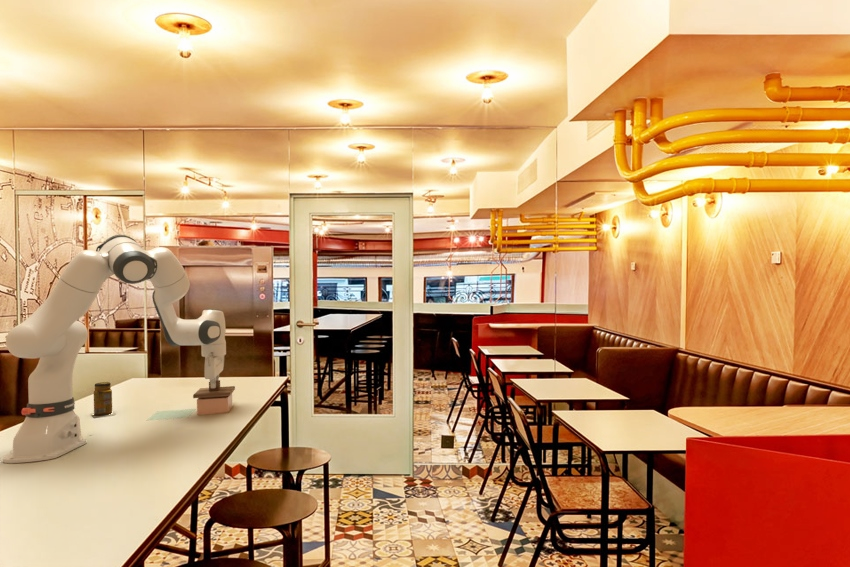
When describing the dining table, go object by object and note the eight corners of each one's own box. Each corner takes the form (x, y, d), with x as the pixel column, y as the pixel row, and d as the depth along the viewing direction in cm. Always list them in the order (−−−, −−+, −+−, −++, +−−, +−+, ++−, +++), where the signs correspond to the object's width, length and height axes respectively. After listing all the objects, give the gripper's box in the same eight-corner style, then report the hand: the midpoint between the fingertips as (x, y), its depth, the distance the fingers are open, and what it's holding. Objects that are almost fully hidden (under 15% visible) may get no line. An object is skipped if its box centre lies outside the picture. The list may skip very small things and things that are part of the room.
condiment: (112, 411, 209) (111, 380, 209) (116, 414, 202) (115, 383, 202) (90, 414, 204) (89, 383, 204) (93, 418, 198) (92, 386, 198)
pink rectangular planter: (228, 413, 200) (227, 397, 200) (197, 415, 198) (196, 399, 198) (232, 406, 211) (232, 391, 211) (203, 409, 209) (202, 393, 209)
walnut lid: (230, 395, 199) (229, 383, 199) (193, 398, 197) (192, 385, 196) (234, 389, 212) (234, 377, 212) (200, 391, 209) (200, 379, 209)
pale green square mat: (187, 418, 194) (187, 417, 194) (146, 421, 191) (146, 420, 191) (196, 409, 208) (195, 408, 208) (157, 412, 205) (157, 411, 205)
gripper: (217, 354, 195) (218, 391, 195) (226, 347, 215) (227, 381, 215) (199, 354, 193) (200, 392, 193) (210, 348, 213) (210, 382, 213)
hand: (214, 386), depth 204 cm, fingers closed on walnut lid, 3 cm apart
